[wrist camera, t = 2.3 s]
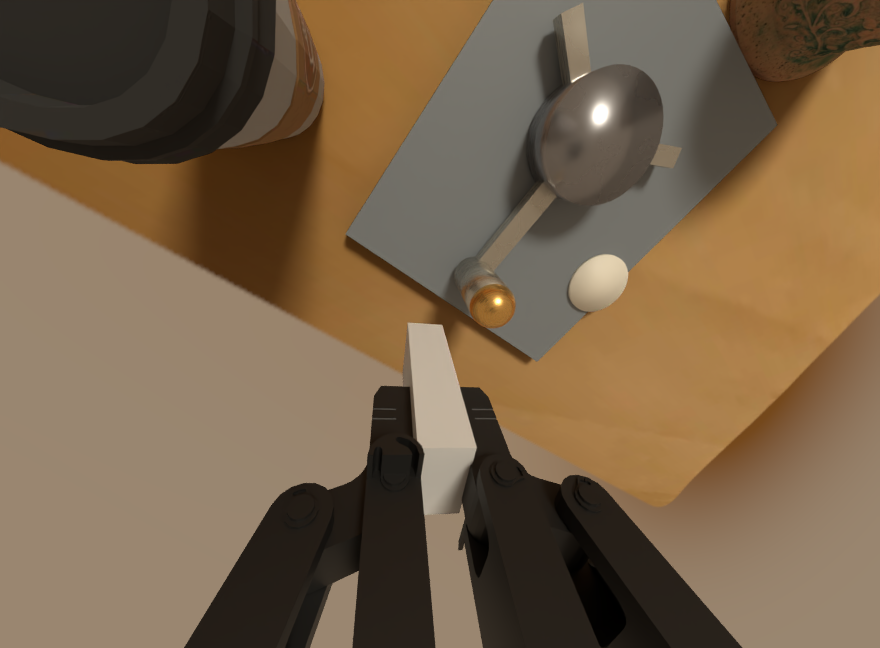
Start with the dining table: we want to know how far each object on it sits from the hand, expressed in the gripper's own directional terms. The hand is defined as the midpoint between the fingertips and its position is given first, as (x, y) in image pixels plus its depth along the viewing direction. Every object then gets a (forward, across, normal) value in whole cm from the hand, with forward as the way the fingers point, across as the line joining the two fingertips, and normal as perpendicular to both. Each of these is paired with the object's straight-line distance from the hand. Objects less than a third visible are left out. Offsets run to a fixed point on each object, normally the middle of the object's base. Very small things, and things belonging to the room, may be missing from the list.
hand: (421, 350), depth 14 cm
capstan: (+11, +8, +6) cm, 15 cm away
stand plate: (+12, +10, +8) cm, 17 cm away
